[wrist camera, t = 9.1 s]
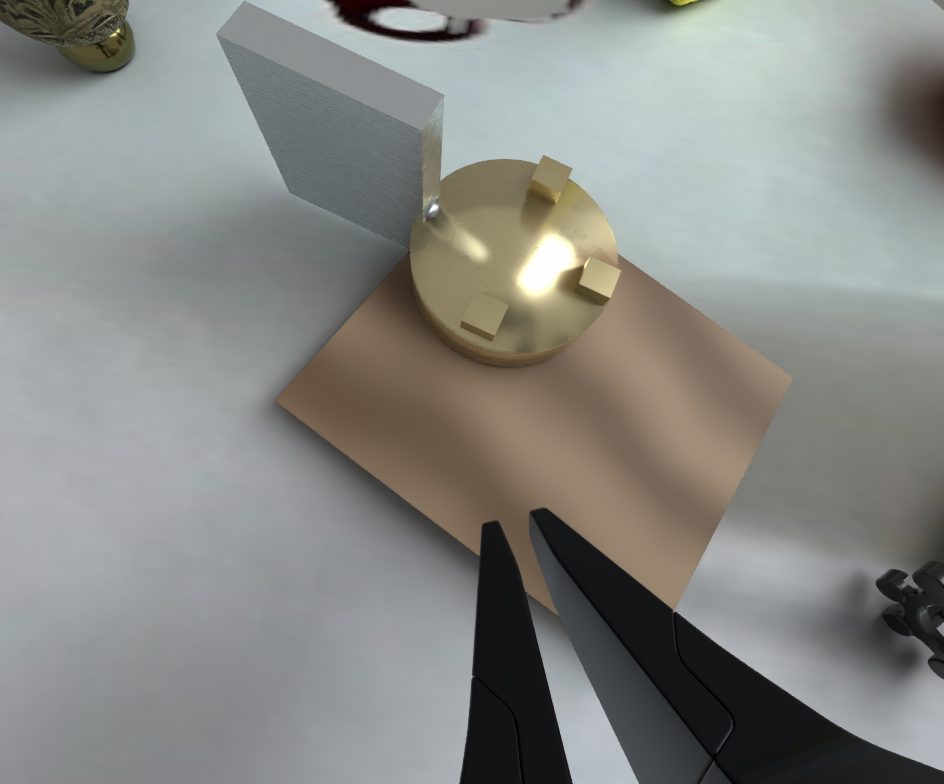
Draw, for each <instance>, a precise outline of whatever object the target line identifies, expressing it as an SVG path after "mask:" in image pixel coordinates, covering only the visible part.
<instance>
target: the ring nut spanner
mask: <svg viewBox="0 0 944 784" xmlns="http://www.w3.org/2000/svg"><path fill="white" fill-rule="evenodd" d="M216 35H217V37H218V40H219V42H220V44H221V46H222V48H223V50H224V52H225V55H226V57H227V59H228V61H229V63H230V65H231V67H232V70H233V72H234V74H235V76H236V78H237V80H238V83H239V85H240V87H241V89H242V91H243V93H244V95H245V98H246V100H247V102H248V104H249V106H250V108H251V111H252V113H253V115H254V117H255V119H256V121H257V123H258V126H259V128H260V130H261V132H262V134H263V136H264V138H265V141H266V143H267V145H268V147H269V149H270V151H271V154H272V156H273V158H274V160H275V162H276V164H277V166H278V169H279V171H280V173H281V175H282V177H283V179H284V181H285V184H286V186H287V188H288V190H289V192H290V193H291V194H293V195H295V196H298V197H300V198H302V199H304V200H306V201H308V202H310V203H313V204H315V205H317V206H319V207H321V208H323V209H325V210H328V211H330V212H332V213H334V214H336V215H338V216H340V217H343V218H345V219H347V220H349V221H351V222H353V223H355V224H358V225H360V226H362V227H364V228H366V229H368V230H370V231H373V232H375V233H377V234H379V235H381V236H383V237H385V238H388V239H390V240H392V241H394V242H396V243H398V244H400V245H403V246H405V247H407V248H409V249H410V260H411V275H412V285H413V292H414V295H415V299H416V302H417V305H418V307H419V309H420V311H421V314H422V316H423V317H424V319H425V320H426V322H427V324H428V325H429V326H430V328H431V329H432V330H433V331H434V332H435V334H436V335H437V336H438V337H439V338H440V339H441V340H443V341H444V342H445V343H446V344H447V345H449V346H450V347H451V348H453V349H454V350H455V351H457V352H459V353H461V354H463V355H464V356H466V357H468V358H471V359H473V360H476V361H478V362H482V363H485V364H489V365H494V366H502V367H520V366H527V365H532V364H536V363H540V362H543V361H545V360H548V359H550V358H552V357H554V356H556V355H557V354H559V353H561V352H562V351H564V350H565V349H566V348H567V347H569V346H570V345H571V344H572V343H573V342H574V341H575V340H576V339H577V338H578V337H580V336H581V335H582V334H583V333H584V332H585V331H586V330H587V329H588V328H589V327H590V326H591V325H592V324H593V323H594V322H595V321H596V320H597V318H598V317H599V316H600V315H601V314H602V312H603V311H604V309H605V308H606V306H607V305H608V303H609V301H610V299H611V297H612V294H613V291H614V288H615V285H616V283H617V280H618V278H619V275H620V272H621V270H619V269H618V253H617V246H616V242H615V238H614V234H613V232H612V229H611V227H610V225H609V222H608V221H607V219H606V217H605V215H604V213H603V212H602V210H601V209H600V208H599V206H598V205H597V204H596V202H595V201H594V200H593V199H592V198H591V197H590V196H589V195H588V193H587V192H586V191H584V190H583V189H582V188H581V187H580V186H579V185H577V184H576V183H575V182H573V181H572V180H570V179H569V178H568V177H569V175H570V173H571V171H572V168H570V167H568V166H566V165H564V164H562V163H560V162H557V161H555V160H553V159H551V158H549V157H547V156H545V155H543V157H542V159H541V161H540V163H539V164H535V163H532V162H527V161H521V160H512V159H497V160H488V161H482V162H477V163H474V164H471V165H468V166H465V167H463V168H461V169H459V170H456V171H455V172H453V173H451V174H450V175H448V176H446V177H445V178H444V179H442V180H441V181H440V172H441V151H442V130H443V109H444V95H443V94H441V93H439V92H437V91H435V90H433V89H431V88H429V87H426V86H424V85H422V84H420V83H418V82H416V81H414V80H412V79H409V78H407V77H405V76H403V75H401V74H399V73H397V72H395V71H392V70H390V69H388V68H386V67H384V66H382V65H380V64H378V63H375V62H373V61H371V60H369V59H367V58H365V57H363V56H361V55H358V54H356V53H354V52H352V51H350V50H348V49H346V48H344V47H341V46H339V45H337V44H335V43H333V42H331V41H329V40H327V39H324V38H322V37H320V36H318V35H316V34H314V33H312V32H310V31H307V30H305V29H303V28H301V27H299V26H297V25H295V24H293V23H290V22H288V21H286V20H284V19H282V18H280V17H278V16H276V15H273V14H271V13H269V12H267V11H265V10H263V9H261V8H258V7H256V6H254V5H252V4H250V3H248V2H246V1H244V2H243V3H242V4H241V5H240V7H239V8H238V9H237V10H236V11H235V12H234V14H233V15H232V16H231V17H230V18H229V19H228V21H227V22H226V23H225V24H224V25H223V26H222V28H221V29H220V30H219V31H218V32H217V33H216Z"/></svg>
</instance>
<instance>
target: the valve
mask: <svg viewBox="0 0 944 784" xmlns="http://www.w3.org/2000/svg"><path fill="white" fill-rule="evenodd" d="M907 576H908V574H906V573H905V572H903V571H900V570H897V569H890V570H888V571H887V572H886V573H885V574H883V575H882V576H881V577H880V578H878V579H877V580H876V586H877V588H878V589H879V591H880V592H881V593H882V594H883V595H885V596H886V597H888V598H889V599H891V600H893V601H896V602H899V603H896V604H894V605H893V606H892V607H891V608H890V609H888V610H887V611H886V612H885V613H884V614H883V619H884V620H885V622H886V623H887V625H888V626H889V627H890V628H891V629H892V630H894V631H895V632H897V633H899V634H901V635H903V636H908V637H909V636H912V635H913V636H915V637H917V638H918V639H920V640H921V641H922V642H924V643H925V644H926V645H927V646H928V647H929V648H930V649H931V650H932V651H933V652H934V655H932V656H931V657H930V658H929V659H928V665H929V667H930V668H931V669H932V670H933V672H935V673H936V674H937V675H938V676H939V677H941V678H942V679H944V637H943V636H942V634H941V633H940V632H939V631H938V630H937V629H936V628H938V627H939V626H940V625H941V624H942V623H943V622H944V563H941V562H938V561H928V562H926V563H925V564H924V565H922V566H921V567H920V568H919V569H918V570H916V571H915V572H914V573H913V575H912V578H913V580H914V582H915V583H916V584H917V585H918V586H919V587H920V588H919V589H914V588H912V587H911V586H909V585H908V584H907V583H905V582H904V581H903V580H904V579H905V578H906V577H907ZM930 605H933V606H930ZM927 606H930V607H928V608H927Z"/></svg>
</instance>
